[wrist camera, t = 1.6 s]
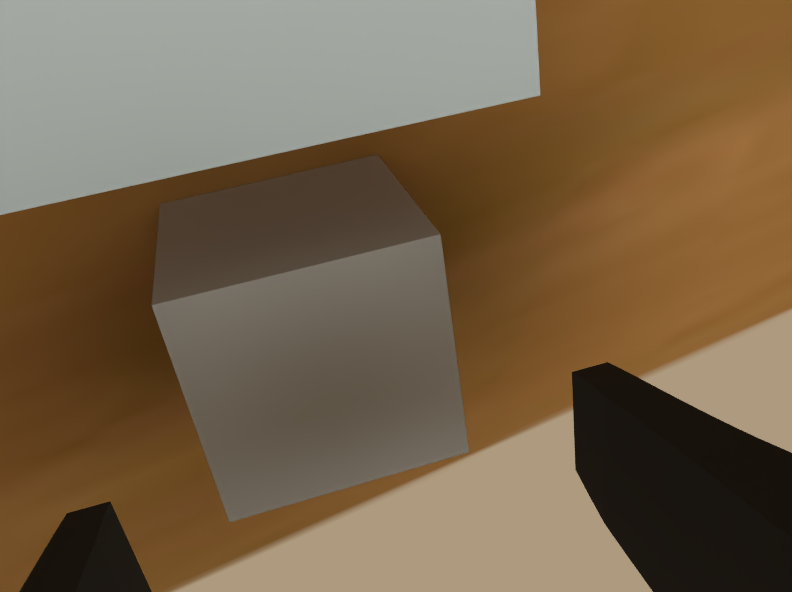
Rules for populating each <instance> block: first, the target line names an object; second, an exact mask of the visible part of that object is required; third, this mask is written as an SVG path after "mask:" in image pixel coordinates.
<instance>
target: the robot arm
mask: <svg viewBox="0 0 792 592" xmlns="http://www.w3.org/2000/svg"><path fill="white" fill-rule="evenodd" d="M572 385H573V411H574V438H575V464H576V471H577V473H578V475H579V477H580V479H581V481H582V483H583V484H584V486H585V488H586V490H587V492H588V494H589V496H590V498H591V500H592V501H593V503H594V505H595V507H596V509H597V510H598V512H599V514H600V516H601V518H602V519H603V521H604V523H605V524H606V526H607V527H608V529H609V530H610V532H611V533H612V535H613V536H614V537H615V539H616V540H617V542H618V543H619V544H620V546H621V547H622V549H623V550H624V552H625V553H626V554H627V556H628V557H629V559H630V560H631V562H632V563H633V564H634V566H635V567H636V569H637V570H638V571H639V573H640V574H641V575H642V577H643V578H644V580H645V581H646V582H647V584H648V585H649V587H650V588H651V589H652V591H653V592H792V453H791V452H788V451H786V450H784V449H781V448H779V447H777V446H775V445H772V444H770V443H768V442H765V441H763V440H761V439H758V438H756V437H754V436H752V435H750V434H748V433H746V432H744V431H742V430H739V429H737V428H735V427H733V426H731V425H729V424H727V423H725V422H723V421H721V420H719V419H717V418H715V417H712V416H710V415H709V414H707V413H705V412H703V411H701V410H698V409H697V408H695V407H693V406H691V405H689V404H687V403H685V402H683V401H681V400H679V399H677V398H675V397H674V396H672V395H670V394H668V393H666V392H664V391H662V390H660V389H658V388H656V387H655V386H653V385H651V384H649V383H647V382H645V381H643V380H641V379H639V378H638V377H636V376H634V375H632V374H630V373H628V372H626V371H624V370H622V369H620V368H618V367H616V366H614V365H612V364H610V363H608V362H607V363H603V364H600V365H596V366H593V367H589V368H586V369H582V370H578V371H575V372H572ZM20 592H151V590H150V587H149V585H148V583H147V581H146V579H145V576H144V574H143V572H142V570H141V568H140V566H139V563H138V561H137V559H136V557H135V555H134V552H133V550H132V548H131V546H130V544H129V542H128V539H127V537H126V535H125V533H124V531H123V529H122V526H121V524H120V522H119V520H118V518H117V515H116V513H115V511H114V509H113V507H112V505H111V502H106V503H103V504H99V505H96V506H92V507H88V508H85V509H81V510H78V511H74V512H70V513H67V514H66V516H65V517H64V519H63V521H62V522H61V524H60V525H59V527H58V529H57V530H56V532H55V533H54V535H53V537H52V538H51V540H50V542H49V543H48V545H47V547H46V548H45V550H44V552H43V553H42V555H41V557H40V558H39V560H38V562H37V563H36V565H35V567H34V568H33V570H32V572H31V573H30V575H29V577H28V578H27V580H26V582H25V583H24V585H23V587H22V588H21V590H20Z"/></svg>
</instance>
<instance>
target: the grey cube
mask: <svg viewBox="0 0 792 592" xmlns="http://www.w3.org/2000/svg"><path fill="white" fill-rule="evenodd" d="M151 306H152V308H153V311H154V314H155V317H156V319H157V322H158V325H159V328H160V331H161V333H162V336H163V339H164V342H165V344H166V347H167V350H168V353H169V356H170V358H171V361H172V364H173V367H174V369H175V372H176V375H177V378H178V381H179V383H180V386H181V389H182V392H183V395H184V397H185V400H186V403H187V406H188V408H189V411H190V414H191V417H192V420H193V422H194V425H195V428H196V431H197V433H198V436H199V439H200V442H201V445H202V447H203V450H204V453H205V456H206V458H207V461H208V464H209V467H210V470H211V472H212V475H213V478H214V481H215V484H216V486H217V489H218V492H219V495H220V497H221V500H222V503H223V506H224V509H225V511H226V514H227V517H228V520H229V522H232V521H236V520H239V519H243V518H246V517H250V516H253V515H256V514H260V513H263V512H267V511H270V510H273V509H277V508H280V507H284V506H287V505H291V504H294V503H297V502H301V501H304V500H308V499H311V498H314V497H318V496H321V495H325V494H328V493H331V492H335V491H338V490H342V489H345V488H349V487H352V486H355V485H359V484H362V483H366V482H369V481H372V480H376V479H379V478H383V477H386V476H390V475H393V474H396V473H400V472H403V471H407V470H410V469H413V468H417V467H420V466H424V465H427V464H431V463H434V462H437V461H441V460H444V459H448V458H451V457H454V456H458V455H461V454H465V453H468V452H469V447H468V440H467V432H466V424H465V417H464V409H463V401H462V394H461V386H460V379H459V371H458V363H457V356H456V348H455V340H454V333H453V325H452V317H451V310H450V302H449V294H448V287H447V279H446V271H445V264H444V256H443V248H442V241H441V234H440V233H439V231H438V230H437V229H436V228H435V226H434V225H433V224H432V223H431V221H430V220H429V219H428V218H427V216H426V215H425V214H424V213H423V211H422V210H421V209H420V208H419V206H418V205H417V204H416V203H415V201H414V200H413V199H412V197H411V196H410V195H409V194H408V192H407V191H406V190H405V189H404V187H403V186H402V185H401V184H400V182H399V181H398V180H397V179H396V177H395V176H394V175H393V174H392V172H391V171H390V170H389V168H388V167H387V166H386V165H385V163H384V162H383V161H382V160H381V158H380V157H379V156H378V155H373V156H369V157H364V158H360V159H355V160H351V161H347V162H342V163H338V164H333V165H329V166H325V167H320V168H316V169H311V170H307V171H303V172H298V173H294V174H289V175H285V176H281V177H276V178H272V179H267V180H263V181H259V182H254V183H250V184H245V185H241V186H237V187H232V188H228V189H223V190H219V191H215V192H210V193H206V194H201V195H197V196H193V197H188V198H184V199H179V200H175V201H171V202H166V203H162V204H160V210H159V222H158V234H157V246H156V257H155V269H154V281H153V293H152V305H151Z"/></svg>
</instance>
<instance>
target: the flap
mask: <svg viewBox="0 0 792 592" xmlns="http://www.w3.org/2000/svg"><path fill="white" fill-rule="evenodd" d="M539 95H540V79H539V60H538V40H537V21H536V2H535V0H0V215H2V214H7V213H11V212H16V211H20V210H25V209H29V208H34V207H38V206H43V205H48V204H52V203H57V202H61V201H66V200H70V199H75V198H79V197H84V196H88V195H93V194H97V193H102V192H106V191H111V190H115V189H120V188H124V187H129V186H133V185H138V184H142V183H147V182H151V181H156V180H160V179H165V178H169V177H174V176H178V175H183V174H187V173H192V172H196V171H201V170H205V169H210V168H214V167H219V166H224V165H228V164H233V163H237V162H242V161H246V160H251V159H255V158H260V157H264V156H269V155H273V154H278V153H282V152H287V151H291V150H296V149H300V148H305V147H309V146H314V145H318V144H323V143H327V142H332V141H336V140H341V139H345V138H350V137H354V136H359V135H363V134H368V133H372V132H377V131H381V130H386V129H390V128H395V127H399V126H404V125H409V124H413V123H418V122H422V121H427V120H431V119H436V118H440V117H445V116H449V115H454V114H458V113H463V112H467V111H472V110H476V109H481V108H485V107H490V106H494V105H499V104H503V103H508V102H512V101H517V100H521V99H526V98H530V97H535V96H539Z"/></svg>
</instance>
